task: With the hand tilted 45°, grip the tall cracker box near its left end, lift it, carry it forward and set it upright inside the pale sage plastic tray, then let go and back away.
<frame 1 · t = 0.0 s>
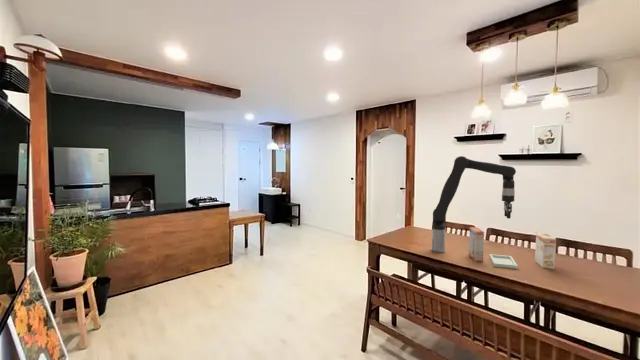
hand: (507, 217, 212), 29 cm above the table, tool pointing down, fingers open, 8 cm apart
cracker box: (475, 258, 213), on the table
coffeecake box: (544, 265, 199), on the table
sage tray: (502, 262, 203), on the table
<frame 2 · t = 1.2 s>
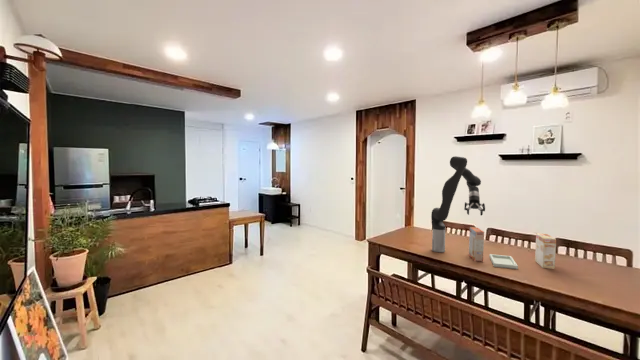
hand: (474, 214, 228), 29 cm above the table, tool tilted 45°, fingers open, 8 cm apart
nothing on the table moved.
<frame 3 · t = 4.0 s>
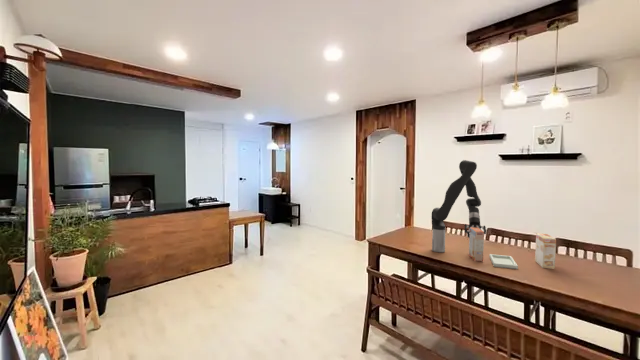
hand: (475, 237, 219), 13 cm above the table, tool tilted 45°, fingers open, 8 cm apart
cracker box: (475, 258, 213), on the table, touching gripper
everything else where it was.
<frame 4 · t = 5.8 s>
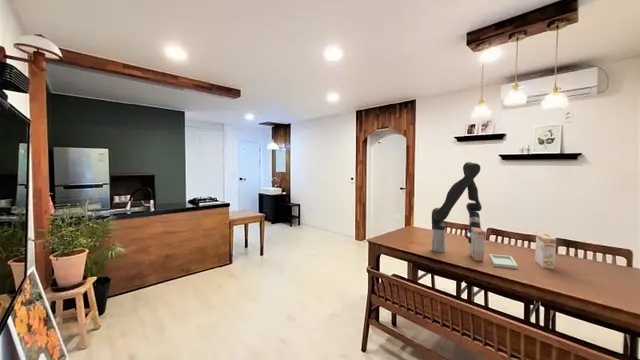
hand: (475, 243, 215), 10 cm above the table, tool tilted 45°, fingers closed on cracker box, 6 cm apart
cracker box: (476, 258, 213), on the table, touching gripper
everything else where it was.
when the fingers open (12 cm above the table, at t = 12.6 s): cracker box drops 1 cm, resting on sage tray.
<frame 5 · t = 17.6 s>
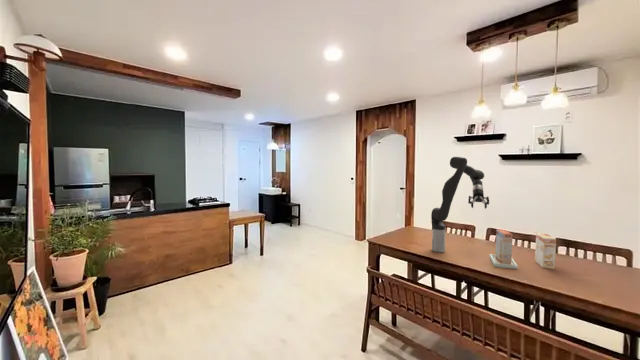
hand: (479, 207, 228), 34 cm above the table, tool tilted 45°, fingers open, 8 cm apart
cracker box: (503, 262, 204), resting on sage tray
everything else where it was.
at the end: cracker box inside the target area on the sage tray (0.5 cm from its centre), point 0.4 cm above the sage tray's base; cracker box tilted 0°; the gripper is holding nothing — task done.
